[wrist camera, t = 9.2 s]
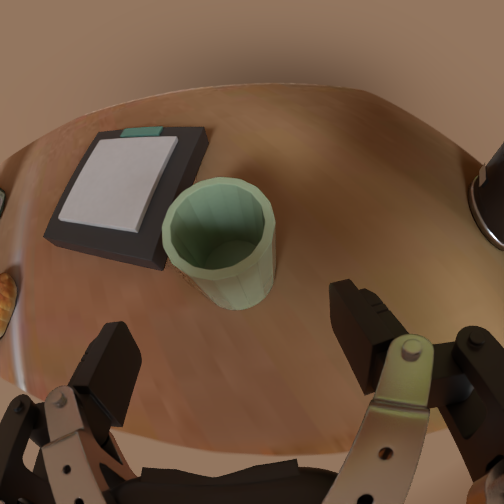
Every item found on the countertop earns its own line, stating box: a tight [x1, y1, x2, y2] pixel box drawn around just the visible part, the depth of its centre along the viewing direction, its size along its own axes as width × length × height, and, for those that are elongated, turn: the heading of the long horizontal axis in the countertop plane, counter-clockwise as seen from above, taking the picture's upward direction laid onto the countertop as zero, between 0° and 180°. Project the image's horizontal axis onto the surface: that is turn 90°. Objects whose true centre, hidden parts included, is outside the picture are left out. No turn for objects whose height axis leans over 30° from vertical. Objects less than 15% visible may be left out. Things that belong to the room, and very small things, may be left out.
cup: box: [162, 177, 276, 310], centre depth 17 cm, size 6×6×8 cm
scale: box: [43, 126, 209, 271], centre depth 24 cm, size 14×14×3 cm
